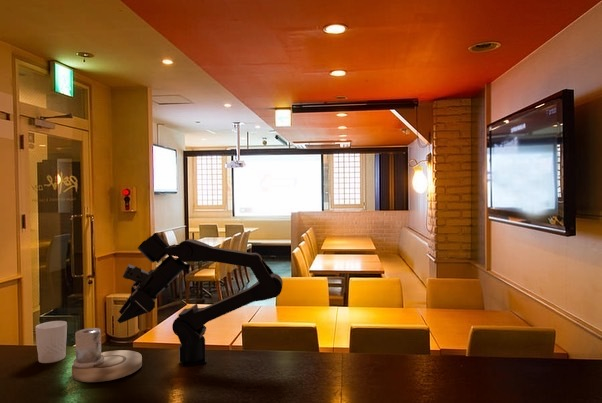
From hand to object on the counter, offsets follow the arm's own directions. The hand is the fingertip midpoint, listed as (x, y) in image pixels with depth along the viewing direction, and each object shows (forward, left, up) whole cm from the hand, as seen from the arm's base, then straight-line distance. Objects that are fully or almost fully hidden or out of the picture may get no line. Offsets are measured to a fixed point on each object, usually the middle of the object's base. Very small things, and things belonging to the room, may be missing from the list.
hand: (119, 317), depth 117 cm
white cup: (+19, -16, -14) cm, 29 cm away
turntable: (+3, 0, -14) cm, 14 cm away
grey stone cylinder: (+8, 0, -11) cm, 14 cm away
